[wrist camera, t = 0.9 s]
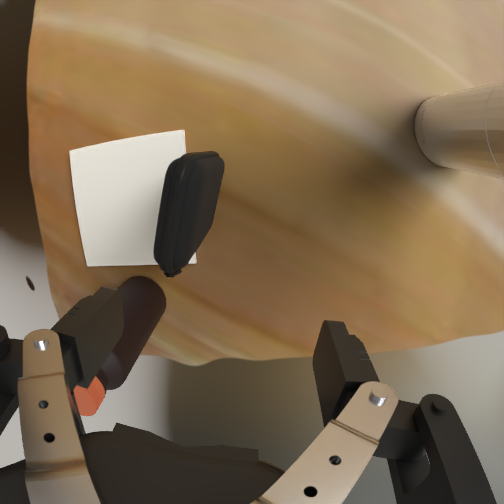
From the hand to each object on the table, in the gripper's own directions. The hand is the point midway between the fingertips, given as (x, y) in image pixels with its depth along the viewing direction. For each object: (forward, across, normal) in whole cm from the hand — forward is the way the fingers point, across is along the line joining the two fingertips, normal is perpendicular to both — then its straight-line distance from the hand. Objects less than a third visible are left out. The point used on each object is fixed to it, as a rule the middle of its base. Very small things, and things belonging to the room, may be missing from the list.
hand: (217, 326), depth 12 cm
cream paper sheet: (+25, +15, +2) cm, 29 cm away
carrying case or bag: (+25, +5, 0) cm, 26 cm away
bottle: (+26, +12, +14) cm, 32 cm away
